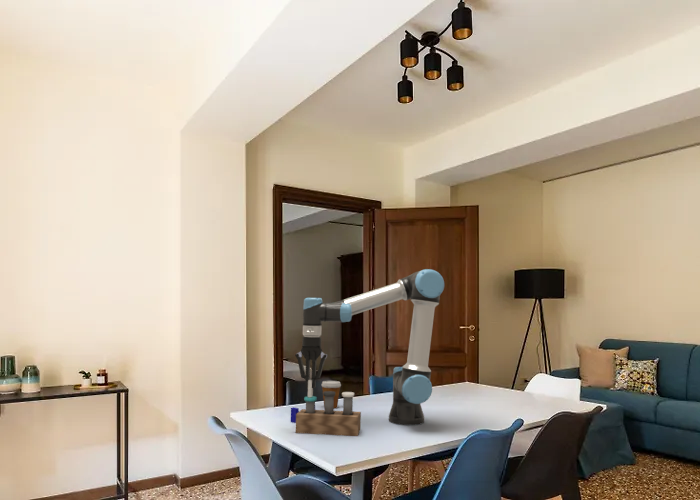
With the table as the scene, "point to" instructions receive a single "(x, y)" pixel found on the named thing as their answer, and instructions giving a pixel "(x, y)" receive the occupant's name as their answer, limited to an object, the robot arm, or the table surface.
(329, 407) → the plug black
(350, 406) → the plug grey
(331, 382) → the disposable coffee cup
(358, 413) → the socket block
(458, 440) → the table surface
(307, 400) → the plug teal
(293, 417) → the blue u-shaped block
